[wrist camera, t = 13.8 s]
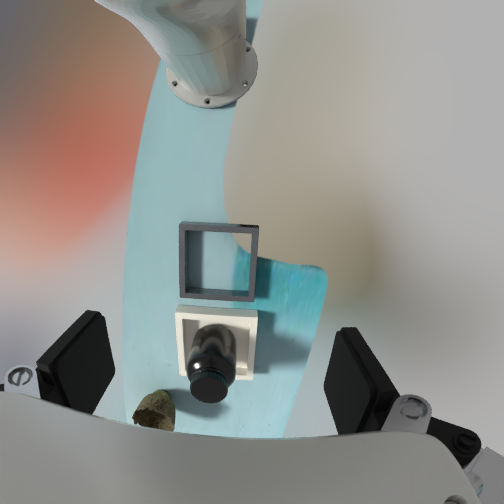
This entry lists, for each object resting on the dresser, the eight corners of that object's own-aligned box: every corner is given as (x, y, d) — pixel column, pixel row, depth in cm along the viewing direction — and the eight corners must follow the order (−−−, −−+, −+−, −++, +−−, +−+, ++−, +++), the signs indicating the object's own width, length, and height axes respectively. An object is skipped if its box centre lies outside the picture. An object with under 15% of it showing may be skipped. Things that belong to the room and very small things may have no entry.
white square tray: (178, 304, 43) (175, 312, 41) (257, 309, 43) (257, 317, 41) (182, 366, 46) (179, 375, 44) (252, 371, 46) (252, 380, 44)
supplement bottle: (204, 361, 45) (194, 412, 34) (187, 328, 44) (171, 376, 32) (243, 351, 45) (243, 403, 33) (228, 317, 43) (222, 365, 32)
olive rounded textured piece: (188, 403, 49) (182, 433, 41) (159, 411, 49) (150, 439, 42) (166, 376, 47) (156, 406, 39) (136, 385, 48) (124, 414, 40)
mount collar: (182, 221, 40) (179, 224, 38) (258, 225, 40) (258, 227, 38) (182, 291, 42) (179, 297, 40) (253, 296, 43) (253, 302, 41)
